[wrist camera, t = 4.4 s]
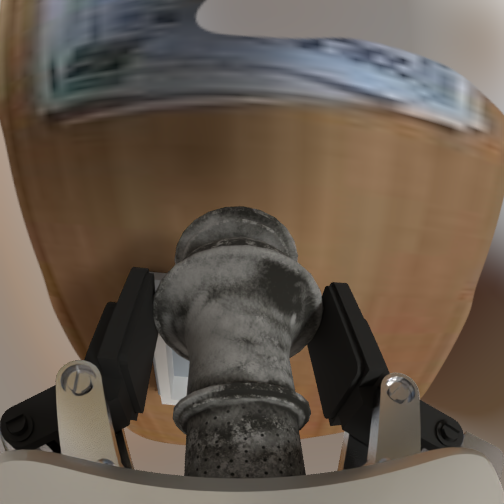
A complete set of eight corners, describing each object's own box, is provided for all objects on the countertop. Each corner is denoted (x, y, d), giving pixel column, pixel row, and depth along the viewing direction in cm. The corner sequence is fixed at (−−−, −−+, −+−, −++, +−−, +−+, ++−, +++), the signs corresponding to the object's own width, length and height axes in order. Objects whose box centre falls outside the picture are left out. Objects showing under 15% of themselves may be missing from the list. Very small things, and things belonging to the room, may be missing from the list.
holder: (146, 271, 24) (135, 303, 20) (294, 282, 25) (304, 314, 22) (159, 387, 31) (155, 416, 28) (264, 393, 33) (267, 422, 29)
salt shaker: (170, 308, 14) (137, 569, 4) (168, 193, 11) (51, 574, 1) (289, 316, 15) (336, 566, 5) (317, 207, 12) (463, 544, 2)
